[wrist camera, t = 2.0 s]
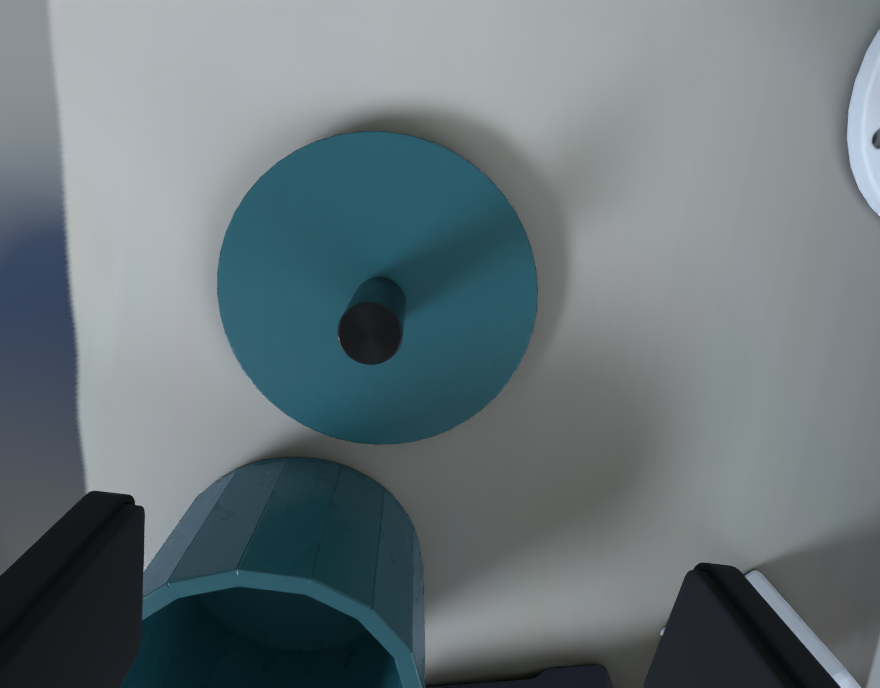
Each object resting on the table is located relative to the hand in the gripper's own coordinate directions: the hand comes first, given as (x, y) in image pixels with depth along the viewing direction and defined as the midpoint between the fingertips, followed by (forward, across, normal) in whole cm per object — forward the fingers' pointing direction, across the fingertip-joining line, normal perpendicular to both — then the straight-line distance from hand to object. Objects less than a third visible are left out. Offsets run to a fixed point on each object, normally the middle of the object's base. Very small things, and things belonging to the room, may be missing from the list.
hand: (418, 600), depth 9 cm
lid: (+17, +2, -1) cm, 17 cm away
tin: (+17, +4, +15) cm, 23 cm away
